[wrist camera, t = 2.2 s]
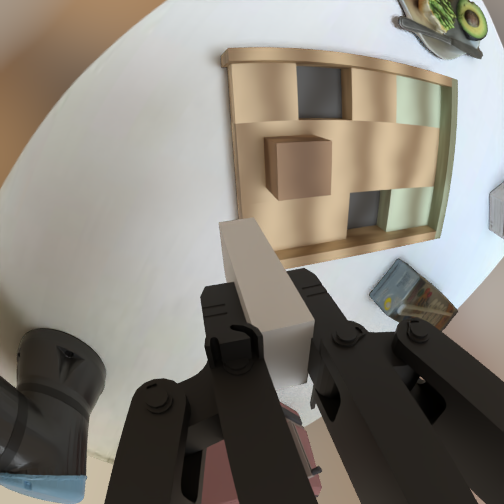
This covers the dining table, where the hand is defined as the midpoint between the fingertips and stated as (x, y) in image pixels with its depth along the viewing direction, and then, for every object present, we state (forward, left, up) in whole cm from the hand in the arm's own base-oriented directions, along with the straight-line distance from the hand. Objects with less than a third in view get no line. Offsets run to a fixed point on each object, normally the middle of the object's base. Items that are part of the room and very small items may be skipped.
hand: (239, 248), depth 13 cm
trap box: (+17, 0, -18) cm, 25 cm away
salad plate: (+33, +23, -19) cm, 44 cm away
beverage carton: (+32, -25, -19) cm, 44 cm away
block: (+8, 0, -16) cm, 17 cm away
